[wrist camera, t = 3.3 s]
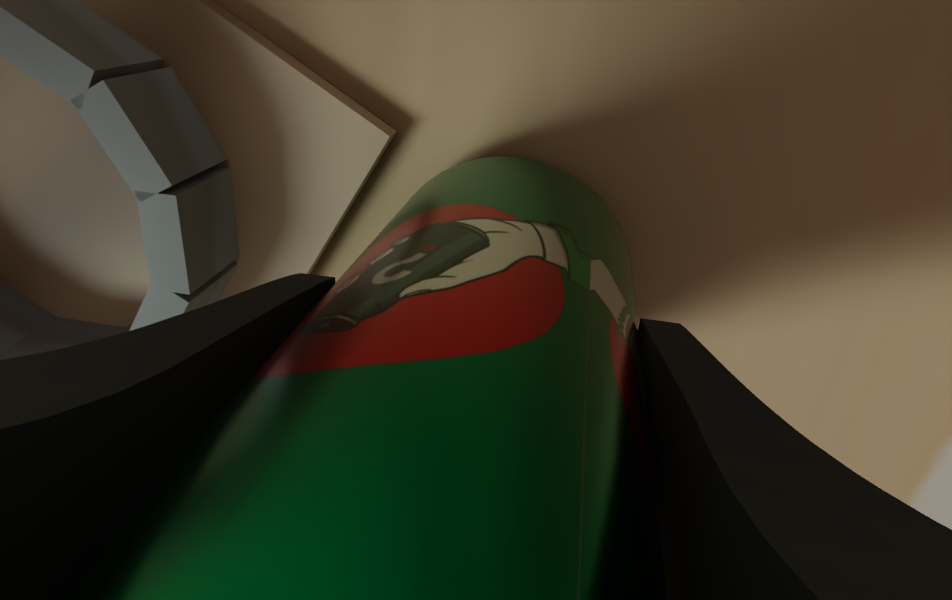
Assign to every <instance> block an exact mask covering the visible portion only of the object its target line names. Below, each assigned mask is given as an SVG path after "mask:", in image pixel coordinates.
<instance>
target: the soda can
mask: <svg viewBox="0 0 952 600" xmlns="http://www.w3.org/2000/svg"><path fill="white" fill-rule="evenodd" d="M55 600H667V591H666V582H665V573H664V564H663V555H662V545H661V536H660V527H659V518H658V509H657V499H656V490H655V481H654V472H653V462H652V453H651V444H650V435H649V426H648V416H647V407H646V398H645V389H644V379H643V370H642V361H641V352H640V343H639V333H638V324H637V315H636V306H635V297H634V287H633V278H632V269H631V260H630V255H629V251H628V247H627V243H626V239H625V237H624V235H623V233H622V230H621V228H620V226H619V223H618V222H617V220H616V219H615V217H614V216H613V214H612V212H611V211H610V209H609V208H608V206H607V205H606V204H605V203H604V202H603V201H602V200H601V199H600V198H599V197H598V195H597V194H596V193H595V192H594V191H593V190H592V189H590V188H589V187H588V186H586V185H585V184H584V183H583V182H581V181H580V180H579V179H577V178H576V177H574V176H572V175H570V174H569V173H567V172H565V171H563V170H561V169H560V168H557V167H554V166H552V165H549V164H546V163H543V162H541V161H537V160H532V159H527V158H521V157H507V156H495V157H487V158H479V159H475V160H471V161H468V162H464V163H461V164H458V165H456V166H454V167H452V168H449V169H447V170H445V171H443V172H441V173H440V174H438V175H437V176H435V177H434V178H433V179H431V180H430V181H428V182H427V183H425V184H424V185H423V186H422V187H421V188H420V189H419V190H418V191H417V192H416V193H415V194H414V195H413V196H412V197H411V199H410V200H409V201H408V202H407V203H406V204H405V205H404V206H403V208H402V209H401V210H400V211H399V212H398V213H397V214H396V216H395V217H394V218H393V219H392V220H391V221H390V222H389V223H388V225H387V226H386V227H385V228H384V229H383V230H382V231H381V232H380V234H379V235H378V236H377V237H376V238H375V239H374V240H373V241H372V243H371V244H370V245H369V246H368V247H367V248H366V249H365V250H364V252H363V253H362V254H361V255H360V256H359V257H358V258H357V259H356V261H355V262H354V263H353V264H352V265H351V266H350V267H349V269H348V270H347V271H346V272H345V273H344V274H343V275H342V276H341V278H340V279H339V280H338V281H337V282H336V283H335V284H334V285H333V287H332V288H331V289H330V290H329V291H328V292H327V293H326V294H325V296H324V297H323V298H322V299H321V300H320V301H319V302H318V303H317V305H316V306H315V307H314V308H313V309H312V310H311V311H310V312H309V314H308V315H307V316H306V317H305V318H304V319H303V320H302V322H301V323H300V324H299V325H298V326H297V327H296V328H295V329H294V331H293V332H292V333H291V334H290V335H289V336H288V337H287V338H286V340H285V341H284V342H283V343H282V344H281V345H280V346H279V347H278V349H277V350H276V351H275V352H274V353H273V354H272V355H271V356H270V358H269V359H268V360H267V361H266V362H265V363H264V364H263V365H262V367H261V368H260V369H259V370H258V371H257V372H256V373H255V375H254V376H253V377H252V378H251V379H250V380H249V381H248V382H247V384H246V385H245V386H244V387H243V388H242V389H241V390H240V391H239V393H238V394H237V395H236V396H235V397H234V398H233V399H232V400H231V402H230V403H229V404H228V405H227V406H226V407H225V408H224V409H223V411H222V412H221V413H220V414H219V415H218V416H217V417H216V418H215V420H214V421H213V422H212V423H211V424H210V425H209V426H208V428H207V429H206V430H205V431H204V432H203V433H202V434H201V435H200V437H199V438H198V439H197V440H196V441H195V442H194V443H193V444H192V446H191V447H190V448H189V449H188V450H187V451H186V452H185V453H184V455H183V456H182V457H181V458H180V459H179V460H178V461H177V462H176V464H175V465H174V466H173V467H172V468H171V469H170V470H169V472H168V473H167V474H166V475H165V476H164V477H163V478H162V479H161V481H160V482H159V483H158V484H157V485H156V486H155V487H154V488H153V490H152V491H151V492H150V493H149V494H148V495H147V496H146V497H145V499H144V500H143V501H142V502H141V503H140V504H139V505H138V506H137V508H136V509H135V510H134V511H133V512H132V513H131V514H130V515H129V517H128V518H127V519H126V520H125V521H124V522H123V523H122V525H121V526H120V527H119V528H118V529H117V530H116V531H115V532H114V534H113V535H112V536H111V537H110V538H109V539H108V540H107V541H106V543H105V544H104V545H103V546H102V547H101V548H100V549H99V550H98V552H97V553H96V554H95V555H94V556H93V557H92V558H91V559H90V561H89V562H88V563H87V564H86V565H85V566H84V567H83V568H82V570H81V571H80V572H79V573H78V574H77V575H76V576H75V578H74V579H73V580H72V581H71V582H70V583H69V584H68V585H67V587H66V588H65V589H64V590H63V591H62V592H61V593H60V594H59V596H58V597H57V598H56V599H55Z"/></svg>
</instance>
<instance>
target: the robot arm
mask: <svg viewBox="0 0 952 600" xmlns="http://www.w3.org/2000/svg"><path fill="white" fill-rule="evenodd" d="M334 284H335V278H334V277H327V276H319V275H312V274H305V273H298V274H293V275H289V276H286V277H282V278H279V279H276V280H273V281H270V282H267V283H265V284H262V285H259V286H256V287H254V288H251V289H248V290H246V291H243V292H240V293H238V294H235V295H232V296H230V297H227V298H224V299H222V300H219V301H216V302H214V303H211V304H208V305H206V306H203V307H200V308H197V309H194V310H191V311H189V312H186V313H183V314H180V315H177V316H174V317H171V318H168V319H165V320H162V321H159V322H156V323H153V324H150V325H147V326H144V327H141V328H138V329H134V330H131V331H128V332H124V333H121V334H117V335H113V336H110V337H106V338H102V339H98V340H94V341H90V342H86V343H82V344H78V345H74V346H70V347H66V348H61V349H57V350H52V351H47V352H42V353H36V354H31V355H26V356H20V357H15V358H10V359H4V360H0V600H55V599H56V598H57V597H58V596H59V594H60V593H61V592H62V591H63V590H64V589H65V588H66V587H67V585H68V584H69V583H70V582H71V581H72V580H73V579H74V578H75V576H76V575H77V574H78V573H79V572H80V571H81V570H82V568H83V567H84V566H85V565H86V564H87V563H88V562H89V561H90V559H91V558H92V557H93V556H94V555H95V554H96V553H97V552H98V550H99V549H100V548H101V547H102V546H103V545H104V544H105V543H106V541H107V540H108V539H109V538H110V537H111V536H112V535H113V534H114V532H115V531H116V530H117V529H118V528H119V527H120V526H121V525H122V523H123V522H124V521H125V520H126V519H127V518H128V517H129V515H130V514H131V513H132V512H133V511H134V510H135V509H136V508H137V506H138V505H139V504H140V503H141V502H142V501H143V500H144V499H145V497H146V496H147V495H148V494H149V493H150V492H151V491H152V490H153V488H154V487H155V486H156V485H157V484H158V483H159V482H160V481H161V479H162V478H163V477H164V476H165V475H166V474H167V473H168V472H169V470H170V469H171V468H172V467H173V466H174V465H175V464H176V462H177V461H178V460H179V459H180V458H181V457H182V456H183V455H184V453H185V452H186V451H187V450H188V449H189V448H190V447H191V446H192V444H193V443H194V442H195V441H196V440H197V439H198V438H199V437H200V435H201V434H202V433H203V432H204V431H205V430H206V429H207V428H208V426H209V425H210V424H211V423H212V422H213V421H214V420H215V418H216V417H217V416H218V415H219V414H220V413H221V412H222V411H223V409H224V408H225V407H226V406H227V405H228V404H229V403H230V402H231V400H232V399H233V398H234V397H235V396H236V395H237V394H238V393H239V391H240V390H241V389H242V388H243V387H244V386H245V385H246V384H247V382H248V381H249V380H250V379H251V378H252V377H253V376H254V375H255V373H256V372H257V371H258V370H259V369H260V368H261V367H262V365H263V364H264V363H265V362H266V361H267V360H268V359H269V358H270V356H271V355H272V354H273V353H274V352H275V351H276V350H277V349H278V347H279V346H280V345H281V344H282V343H283V342H284V341H285V340H286V338H287V337H288V336H289V335H290V334H291V333H292V332H293V331H294V329H295V328H296V327H297V326H298V325H299V324H300V323H301V322H302V320H303V319H304V318H305V317H306V316H307V315H308V314H309V312H310V311H311V310H312V309H313V308H314V307H315V306H316V305H317V303H318V302H319V301H320V300H321V299H322V298H323V297H324V296H325V294H326V293H327V292H328V291H329V290H330V289H331V288H332V287H333V285H334ZM638 333H639V343H640V352H641V361H642V370H643V379H644V389H645V398H646V407H647V416H648V426H649V435H650V444H651V453H652V462H653V472H654V481H655V490H656V499H657V509H658V518H659V527H660V536H661V545H662V555H663V564H664V573H665V582H666V591H667V600H952V530H951V529H949V528H947V527H945V526H943V525H941V524H940V523H937V522H936V521H934V520H932V519H930V518H929V517H927V516H925V515H924V514H922V513H920V512H919V511H917V510H915V509H914V508H912V507H910V506H909V505H907V504H905V503H903V502H902V501H900V500H898V499H897V498H895V497H893V496H892V495H890V494H888V493H887V492H885V491H883V490H882V489H880V488H878V487H877V486H875V485H874V484H872V483H870V482H869V481H867V480H866V479H864V478H863V477H861V476H860V475H858V474H856V473H855V472H853V471H852V470H851V469H849V468H848V467H846V466H845V465H843V464H842V463H841V462H839V461H838V460H836V459H835V458H833V457H832V456H831V455H829V454H828V453H826V452H825V451H823V450H822V449H821V448H819V447H818V446H816V445H815V444H814V443H812V442H811V441H810V440H808V439H807V438H806V437H804V436H803V435H802V434H800V433H799V432H798V431H797V430H795V429H794V428H793V427H792V426H790V425H789V424H788V423H787V422H786V421H784V420H783V419H782V418H781V417H780V416H778V415H777V414H776V413H775V412H774V411H772V410H771V409H770V408H769V407H768V406H766V405H765V404H764V403H763V402H762V401H761V400H760V399H758V398H757V397H756V396H755V395H754V394H753V393H752V392H751V391H749V390H748V389H747V388H746V387H745V386H744V385H743V384H742V383H741V382H740V381H739V380H738V379H737V378H736V377H735V376H733V375H732V374H731V373H730V372H729V371H728V370H727V369H726V368H725V367H724V366H723V365H722V364H721V363H720V362H719V361H718V360H717V359H716V358H715V357H714V356H713V355H712V354H711V353H710V352H709V351H708V350H707V349H706V348H705V347H704V346H703V345H702V344H701V343H700V342H699V341H698V340H697V339H696V338H695V337H694V336H693V335H692V334H691V333H690V332H689V331H688V330H687V329H686V328H685V327H683V326H682V325H681V324H679V323H671V322H664V321H656V320H649V319H640V324H639V328H638Z"/></svg>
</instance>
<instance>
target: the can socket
mask: <svg viewBox="0 0 952 600" xmlns="http://www.w3.org/2000/svg"><path fill="white" fill-rule="evenodd" d="M396 132H397V131H396V130H394V129H393V128H391V127H390V126H389V125H387V124H386V123H384V122H383V121H382V120H380V119H379V118H377V117H376V116H375V115H373V114H372V113H370V112H369V111H368V110H366V109H365V108H363V107H362V106H361V105H359V104H358V103H356V102H355V101H354V100H352V99H351V98H349V97H348V96H347V95H345V94H344V93H342V92H341V91H339V90H338V89H337V88H335V87H334V86H332V85H331V84H330V83H328V82H327V81H325V80H324V79H323V78H321V77H320V76H318V75H317V74H316V73H314V72H313V71H311V70H310V69H309V68H307V67H306V66H304V65H303V64H302V63H300V62H299V61H297V60H296V59H295V58H293V57H292V56H290V55H289V54H288V53H286V52H285V51H283V50H282V49H281V48H279V47H278V46H276V45H275V44H274V43H272V42H271V41H269V40H268V39H267V38H265V37H264V36H262V35H261V34H260V33H258V32H257V31H255V30H254V29H253V28H251V27H250V26H248V25H247V24H246V23H244V22H243V21H241V20H240V19H239V18H237V17H236V16H234V15H233V14H232V13H230V12H229V11H227V10H226V9H225V8H223V7H222V6H220V5H219V4H218V3H216V2H215V1H213V0H0V360H4V359H10V358H15V357H20V356H26V355H31V354H36V353H42V352H47V351H52V350H57V349H61V348H66V347H70V346H74V345H78V344H82V343H86V342H90V341H94V340H98V339H102V338H106V337H110V336H113V335H117V334H121V333H124V332H128V331H131V330H134V329H138V328H141V327H144V326H147V325H150V324H153V323H156V322H159V321H162V320H165V319H168V318H171V317H174V316H177V315H180V314H183V313H186V312H189V311H191V310H194V309H197V308H200V307H203V306H206V305H208V304H211V303H214V302H216V301H219V300H222V299H224V298H227V297H230V296H232V295H235V294H238V293H240V292H243V291H246V290H248V289H251V288H254V287H256V286H259V285H262V284H265V283H267V282H270V281H273V280H276V279H279V278H282V277H286V276H289V275H293V274H298V273H305V274H310V273H311V272H312V270H313V268H314V267H315V265H316V264H317V262H318V260H319V259H320V257H321V255H322V254H323V252H324V250H325V249H326V247H327V245H328V244H329V242H330V240H331V239H332V237H333V236H334V234H335V232H336V231H337V229H338V227H339V226H340V224H341V222H342V221H343V219H344V217H345V216H346V214H347V213H348V211H349V209H350V208H351V206H352V204H353V203H354V201H355V199H356V198H357V196H358V194H359V193H360V191H361V190H362V188H363V186H364V185H365V183H366V181H367V180H368V178H369V176H370V175H371V173H372V171H373V170H374V168H375V167H376V165H377V163H378V162H379V160H380V158H381V157H382V155H383V153H384V152H385V150H386V148H387V147H388V145H389V143H390V142H391V140H392V139H393V137H394V135H395V134H396Z"/></svg>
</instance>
